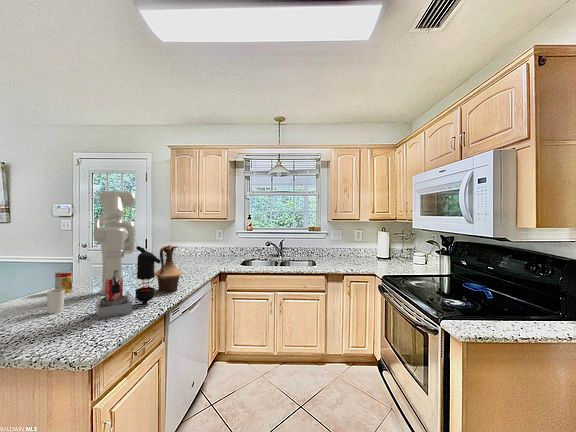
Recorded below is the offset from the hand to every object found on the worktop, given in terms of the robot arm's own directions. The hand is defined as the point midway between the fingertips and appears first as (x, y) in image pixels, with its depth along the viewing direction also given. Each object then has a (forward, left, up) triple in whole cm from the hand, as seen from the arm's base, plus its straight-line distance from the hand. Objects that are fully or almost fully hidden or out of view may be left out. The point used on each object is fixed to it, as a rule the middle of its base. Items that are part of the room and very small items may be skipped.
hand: (113, 291), depth 134 cm
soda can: (0, 0, -6) cm, 6 cm away
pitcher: (-28, +33, -10) cm, 45 cm away
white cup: (-18, -21, -10) cm, 30 cm away
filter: (-6, +16, -10) cm, 20 cm away
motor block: (0, 0, -10) cm, 10 cm away
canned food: (-58, -17, -10) cm, 61 cm away
